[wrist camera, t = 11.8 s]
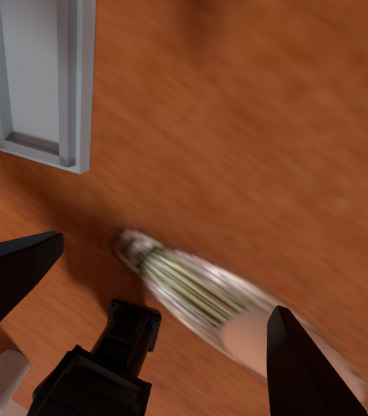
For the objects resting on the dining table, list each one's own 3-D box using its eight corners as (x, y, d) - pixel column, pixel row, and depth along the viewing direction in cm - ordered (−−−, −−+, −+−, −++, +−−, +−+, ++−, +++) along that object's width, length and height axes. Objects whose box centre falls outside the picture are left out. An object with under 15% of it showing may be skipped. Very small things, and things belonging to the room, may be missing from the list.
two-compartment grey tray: (89, 170, 22) (72, 176, 20) (-35, 134, 23) (-64, 136, 21) (97, -41, 15) (73, -66, 13) (-74, -71, 17) (-121, -99, 15)
